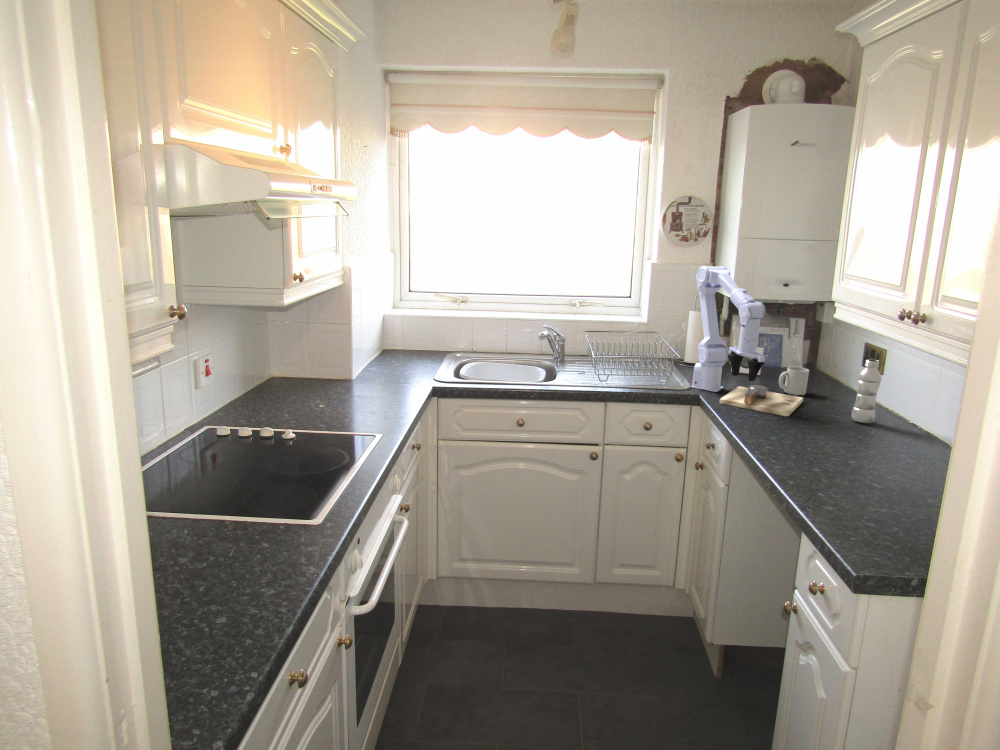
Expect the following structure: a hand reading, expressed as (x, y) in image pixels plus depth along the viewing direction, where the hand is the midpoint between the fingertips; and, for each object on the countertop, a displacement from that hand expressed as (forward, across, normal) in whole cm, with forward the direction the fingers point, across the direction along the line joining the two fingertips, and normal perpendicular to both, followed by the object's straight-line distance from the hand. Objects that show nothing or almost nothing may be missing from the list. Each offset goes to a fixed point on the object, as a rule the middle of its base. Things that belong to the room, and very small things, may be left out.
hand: (743, 378), depth 230 cm
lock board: (+8, +2, +7) cm, 11 cm away
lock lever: (+7, +3, +3) cm, 8 cm away
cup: (+9, -4, +28) cm, 29 cm away
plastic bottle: (+9, +30, +22) cm, 38 cm away
